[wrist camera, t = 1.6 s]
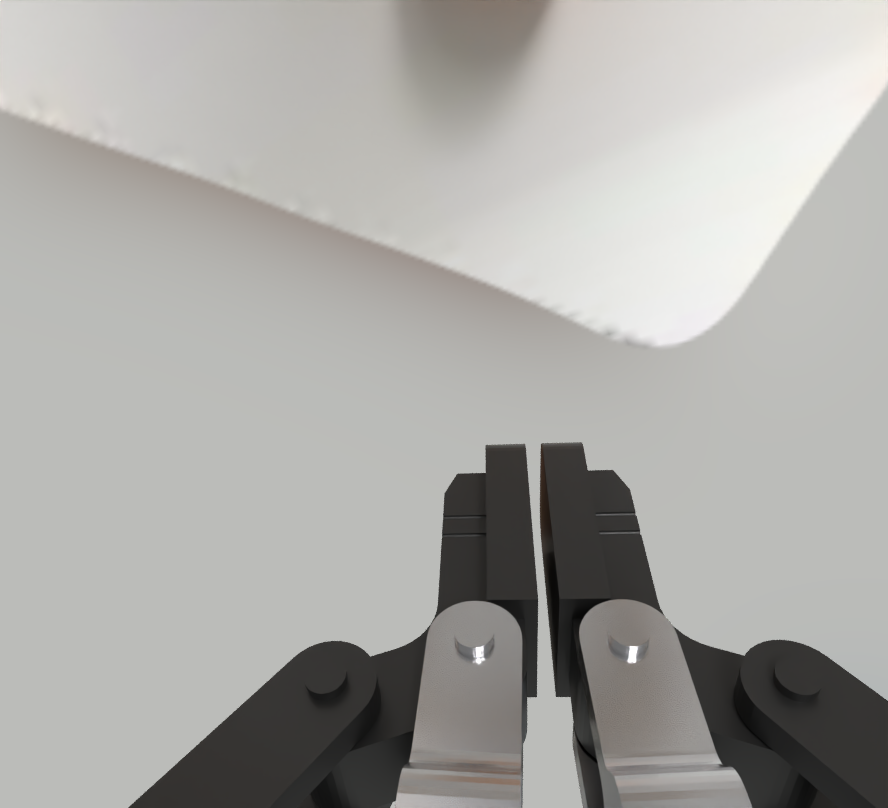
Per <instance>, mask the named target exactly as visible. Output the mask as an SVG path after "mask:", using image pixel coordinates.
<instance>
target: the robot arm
mask: <svg viewBox="0 0 888 808" xmlns="http://www.w3.org/2000/svg"><path fill="white" fill-rule="evenodd" d="M540 468H541V469H540V528H541V542H542V553H543V564H544V574H545V585H546V595H547V605H548V617H549V627H550V638H551V649H552V660H553V670H554V681H555V691H556V697H571V703H572V712H573V721H574V723H573V740H572V741H573V750H574V756H575V762H576V768H577V774H578V780H579V786H580V792H581V798H582V804H583V808H888V701H887V700H886V699H884V698H883V697H882V696H880V695H879V694H878V693H876V692H875V691H873V690H872V689H871V688H869V687H868V686H867V685H865V684H864V683H862V682H861V681H860V680H858V679H857V678H856V677H854V676H853V675H851V674H850V673H849V672H847V671H846V670H845V669H843V668H842V667H841V666H839V665H838V664H836V663H835V662H834V661H832V660H831V659H830V658H828V657H827V656H825V655H824V654H822V653H821V652H819V651H817V650H815V649H813V648H811V647H809V646H806V645H804V644H801V643H797V642H793V641H786V640H771V641H766V642H762V643H760V644H757V645H756V646H754V647H752V648H751V649H750V650H749V651H748V652H747V653H746V655H745V656H743V655H739V654H736V653H732V652H728V651H724V650H720V649H717V648H713V647H710V646H707V645H704V644H701V643H699V642H696V641H694V640H692V639H690V638H689V637H687V636H685V635H683V634H682V633H681V632H680V631H678V630H677V629H676V628H675V627H673V625H672V624H671V623H670V621H669V620H668V619H667V618H666V617H665V616H664V614H663V612H662V610H661V609H660V606H659V603H658V600H657V596H656V592H655V588H654V584H653V580H652V576H651V572H650V568H649V564H648V560H647V556H646V552H645V548H644V544H643V540H642V536H641V535H640V528H639V524H638V520H637V516H636V515H635V509H634V504H633V500H632V496H631V492H630V489H629V488H628V487H627V486H626V484H625V483H624V482H623V481H622V480H621V479H620V478H619V476H618V475H617V474H616V473H615V472H614V471H613V470H595V471H588V470H587V465H586V459H585V454H584V448H583V444H582V443H581V442H580V443H545V444H544V443H542V444H541V466H540ZM537 633H538V594H537V581H536V569H535V557H534V545H533V532H532V520H531V508H530V495H529V483H528V471H527V458H526V448H525V444H509V445H507V444H506V445H486V473H470V474H457V475H456V477H455V478H454V480H453V481H452V483H451V485H450V486H449V488H448V489H447V491H446V492H445V497H444V513H443V530H442V546H441V564H440V580H439V597H438V607H437V612H436V615H435V618H434V619H433V621H432V623H431V625H430V626H429V627H428V628H427V630H426V631H425V632H424V633H423V634H422V635H421V636H420V637H418V638H417V639H415V640H414V641H413V642H411V643H409V644H407V645H405V646H402V647H400V648H397V649H394V650H391V651H388V652H384V653H382V654H378V655H375V656H371V657H370V656H369V655H368V654H367V653H366V652H365V651H364V650H363V649H361V648H360V647H358V646H356V645H354V644H351V643H348V642H342V641H331V642H323V643H319V644H316V645H314V646H311V647H309V648H307V649H305V650H304V651H302V652H300V653H299V654H298V655H297V656H295V657H294V658H293V659H292V660H291V661H290V662H289V663H287V664H286V665H285V666H284V667H283V668H282V669H281V670H280V671H279V672H278V673H276V674H275V675H274V676H273V677H272V678H271V679H270V680H269V681H268V682H267V683H265V684H264V685H263V686H262V687H261V688H260V689H259V690H258V691H257V692H256V693H254V694H253V695H252V696H251V697H250V698H249V699H248V700H247V701H246V702H244V703H243V704H242V705H241V706H240V707H239V708H238V709H237V710H236V711H234V712H233V713H232V714H231V715H230V716H229V717H228V718H227V719H226V720H225V721H223V722H222V724H220V725H219V726H218V727H217V728H216V729H215V730H213V731H212V732H211V733H210V734H209V735H208V736H207V737H206V738H205V739H204V740H203V741H201V742H200V743H199V744H198V745H197V746H196V747H195V748H194V749H193V750H191V751H190V752H189V753H188V754H187V755H186V756H185V757H184V758H183V759H181V760H180V761H179V762H178V763H177V764H176V765H175V766H174V767H173V768H172V769H171V770H169V771H168V772H167V773H166V774H165V775H164V776H163V777H162V778H161V779H159V780H158V781H157V782H156V783H155V784H154V785H153V786H152V787H151V788H149V789H148V790H147V791H146V792H145V793H144V794H143V795H142V796H141V797H140V798H138V799H137V800H136V801H135V802H134V803H133V804H132V805H131V806H130V807H129V808H390V806H391V804H392V802H394V801H396V804H395V808H522V802H523V801H522V800H523V799H522V798H523V743H524V741H525V738H526V733H527V697H537Z"/></svg>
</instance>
